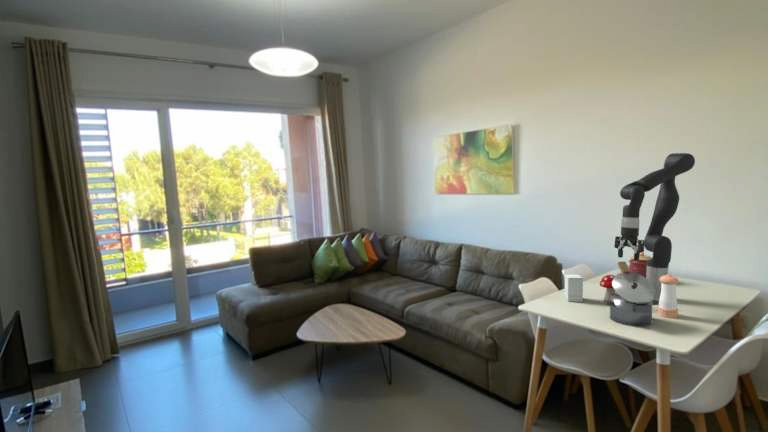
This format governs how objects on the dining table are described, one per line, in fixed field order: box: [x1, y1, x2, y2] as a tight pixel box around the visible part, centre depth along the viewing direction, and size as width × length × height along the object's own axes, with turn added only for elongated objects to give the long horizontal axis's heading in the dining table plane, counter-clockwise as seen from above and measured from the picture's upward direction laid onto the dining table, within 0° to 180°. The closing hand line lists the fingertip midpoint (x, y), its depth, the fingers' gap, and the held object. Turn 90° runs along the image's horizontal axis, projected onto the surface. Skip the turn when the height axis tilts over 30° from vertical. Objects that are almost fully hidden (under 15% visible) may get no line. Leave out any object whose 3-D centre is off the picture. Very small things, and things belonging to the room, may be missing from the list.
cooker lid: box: [612, 261, 656, 305], centre depth 177 cm, size 17×23×3 cm
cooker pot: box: [603, 292, 659, 328], centre depth 177 cm, size 22×18×10 cm
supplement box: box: [564, 274, 584, 303], centre depth 209 cm, size 7×7×13 cm
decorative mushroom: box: [599, 274, 616, 307], centre depth 200 cm, size 10×9×15 cm
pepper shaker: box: [657, 273, 679, 319], centre depth 182 cm, size 7×7×19 cm
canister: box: [628, 252, 653, 278], centre depth 238 cm, size 13×13×18 cm
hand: (628, 258), depth 197 cm, fingers open, 8 cm apart
